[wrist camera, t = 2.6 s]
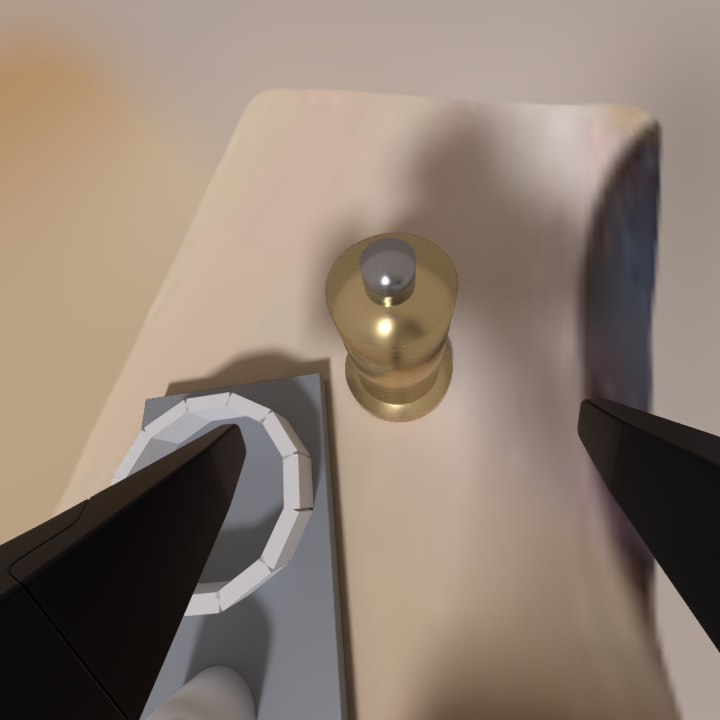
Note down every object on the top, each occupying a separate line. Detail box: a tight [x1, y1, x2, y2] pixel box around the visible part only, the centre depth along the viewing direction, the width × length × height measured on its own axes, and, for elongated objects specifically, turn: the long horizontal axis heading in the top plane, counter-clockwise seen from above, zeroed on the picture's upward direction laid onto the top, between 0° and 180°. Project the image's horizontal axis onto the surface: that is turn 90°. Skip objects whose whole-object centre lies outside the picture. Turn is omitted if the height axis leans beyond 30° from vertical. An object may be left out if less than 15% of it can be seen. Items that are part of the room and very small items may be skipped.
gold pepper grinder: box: [325, 233, 458, 422], centre depth 17 cm, size 7×7×12 cm
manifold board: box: [111, 373, 349, 720], centre depth 17 cm, size 23×12×5 cm, turn 7°
